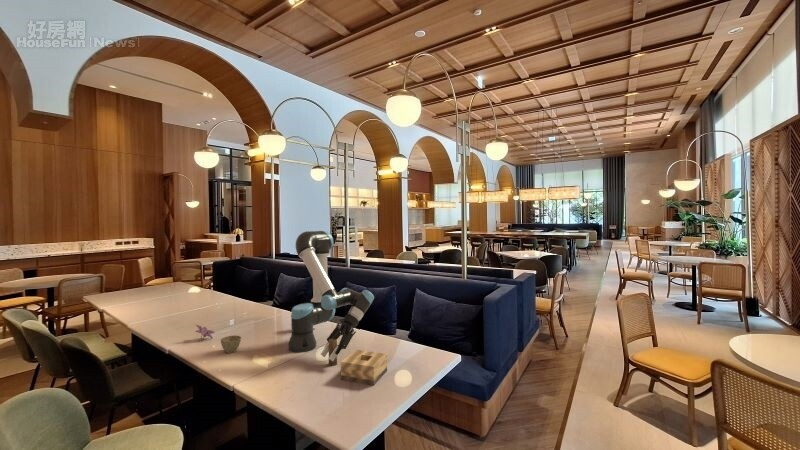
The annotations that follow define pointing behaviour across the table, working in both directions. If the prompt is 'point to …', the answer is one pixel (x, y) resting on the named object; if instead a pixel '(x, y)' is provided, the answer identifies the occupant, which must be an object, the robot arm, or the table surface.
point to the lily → (204, 331)
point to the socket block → (364, 367)
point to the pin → (331, 348)
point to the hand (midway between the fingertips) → (326, 357)
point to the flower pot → (230, 343)
